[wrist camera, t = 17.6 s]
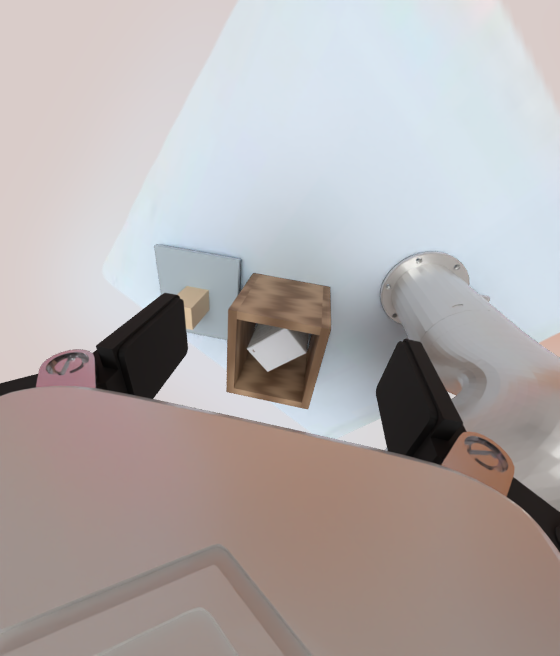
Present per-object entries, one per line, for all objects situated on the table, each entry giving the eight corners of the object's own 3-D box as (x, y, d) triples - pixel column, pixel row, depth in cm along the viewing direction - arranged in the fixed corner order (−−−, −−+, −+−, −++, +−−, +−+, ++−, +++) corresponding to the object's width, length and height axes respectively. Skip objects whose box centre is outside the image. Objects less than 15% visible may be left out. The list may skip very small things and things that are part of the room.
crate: (330, 287, 44) (331, 329, 32) (312, 356, 52) (308, 409, 41) (253, 272, 44) (228, 309, 33) (248, 343, 53) (226, 391, 42)
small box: (277, 337, 51) (266, 373, 42) (259, 316, 49) (245, 349, 40) (311, 319, 47) (307, 354, 39) (294, 295, 46) (285, 327, 37)
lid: (242, 256, 43) (224, 276, 35) (239, 335, 52) (223, 365, 44) (161, 242, 44) (125, 258, 36) (171, 322, 53) (145, 349, 45)
